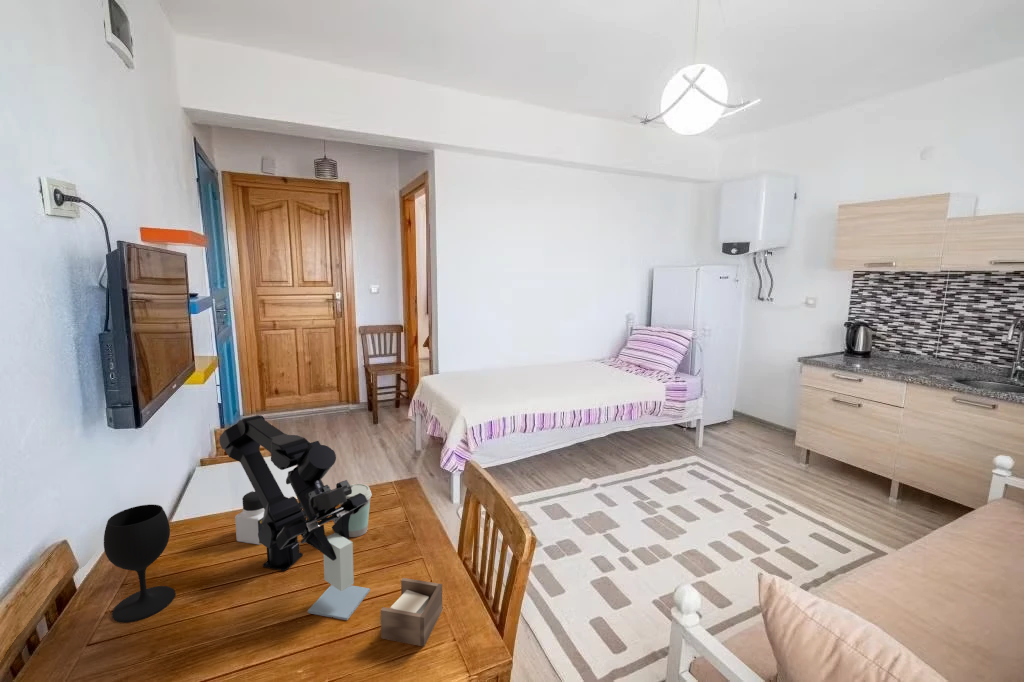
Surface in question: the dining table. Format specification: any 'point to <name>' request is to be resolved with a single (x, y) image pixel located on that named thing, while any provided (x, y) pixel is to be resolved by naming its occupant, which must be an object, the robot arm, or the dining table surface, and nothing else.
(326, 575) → the pale grey rectangular block
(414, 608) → the offcut stack
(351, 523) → the coffee cup
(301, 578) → the dining table surface
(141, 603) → the wine glass
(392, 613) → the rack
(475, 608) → the dining table surface
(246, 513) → the medicine bottle
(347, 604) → the mat
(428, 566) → the dining table surface
